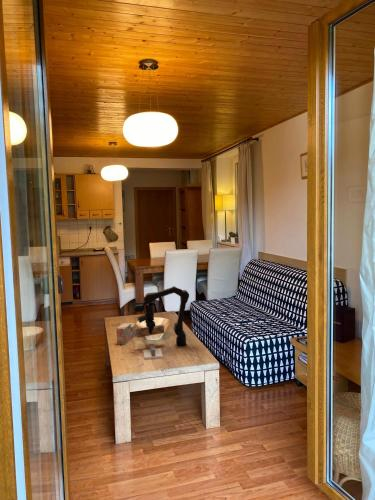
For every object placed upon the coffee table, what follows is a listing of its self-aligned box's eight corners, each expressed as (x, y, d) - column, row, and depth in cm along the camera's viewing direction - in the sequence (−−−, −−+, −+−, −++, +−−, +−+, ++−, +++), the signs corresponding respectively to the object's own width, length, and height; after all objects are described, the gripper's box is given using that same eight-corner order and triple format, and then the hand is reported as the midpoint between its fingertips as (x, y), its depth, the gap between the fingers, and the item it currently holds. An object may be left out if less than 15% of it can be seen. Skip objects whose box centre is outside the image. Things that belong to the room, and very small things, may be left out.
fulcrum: (160, 350, 273) (160, 342, 273) (162, 358, 260) (162, 349, 259) (143, 351, 271) (142, 344, 271) (144, 359, 258) (144, 351, 257)
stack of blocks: (128, 334, 309) (128, 319, 307) (136, 335, 307) (135, 320, 306) (116, 344, 288) (116, 327, 287) (124, 344, 287) (124, 328, 285)
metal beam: (162, 331, 287) (161, 324, 286) (164, 332, 283) (164, 326, 282) (136, 336, 277) (135, 329, 277) (138, 337, 274) (137, 330, 273)
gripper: (137, 308, 286) (138, 329, 288) (138, 315, 268) (139, 337, 270) (152, 307, 288) (153, 328, 290) (155, 314, 270) (155, 336, 272)
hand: (150, 332), depth 280 cm, fingers closed on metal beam, 5 cm apart
